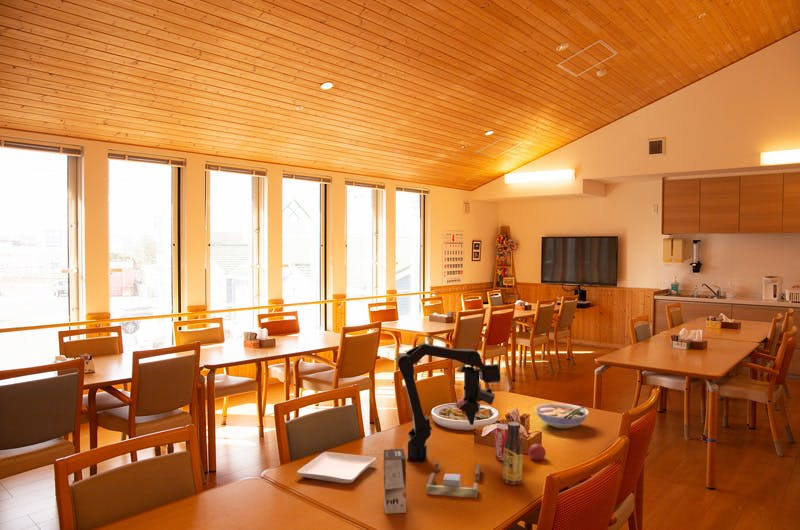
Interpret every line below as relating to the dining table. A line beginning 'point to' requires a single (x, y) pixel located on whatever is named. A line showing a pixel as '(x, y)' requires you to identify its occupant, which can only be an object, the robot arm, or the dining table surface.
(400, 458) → the coffee box
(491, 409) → the bowl
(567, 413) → the ramen bowl
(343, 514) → the dining table surface
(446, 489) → the wooden pieces
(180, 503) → the dining table surface
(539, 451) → the fruit
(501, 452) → the soda can
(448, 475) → the white cube
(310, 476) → the salad plate
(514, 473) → the sauce bottle
